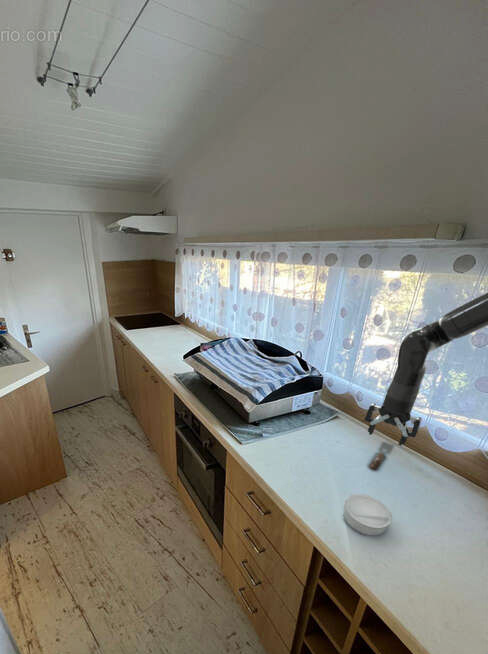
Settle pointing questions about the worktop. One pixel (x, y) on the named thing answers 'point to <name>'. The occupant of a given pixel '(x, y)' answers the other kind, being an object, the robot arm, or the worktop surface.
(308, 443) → the worktop surface
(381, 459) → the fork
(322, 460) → the worktop surface
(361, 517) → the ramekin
